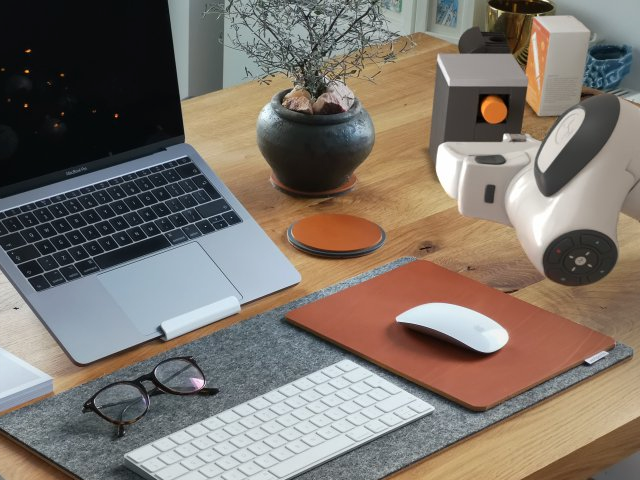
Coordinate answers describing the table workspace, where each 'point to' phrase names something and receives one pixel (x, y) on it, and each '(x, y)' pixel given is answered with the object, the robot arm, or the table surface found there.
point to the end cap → (482, 42)
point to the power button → (493, 109)
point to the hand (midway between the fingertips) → (515, 139)
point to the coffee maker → (475, 98)
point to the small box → (556, 63)
